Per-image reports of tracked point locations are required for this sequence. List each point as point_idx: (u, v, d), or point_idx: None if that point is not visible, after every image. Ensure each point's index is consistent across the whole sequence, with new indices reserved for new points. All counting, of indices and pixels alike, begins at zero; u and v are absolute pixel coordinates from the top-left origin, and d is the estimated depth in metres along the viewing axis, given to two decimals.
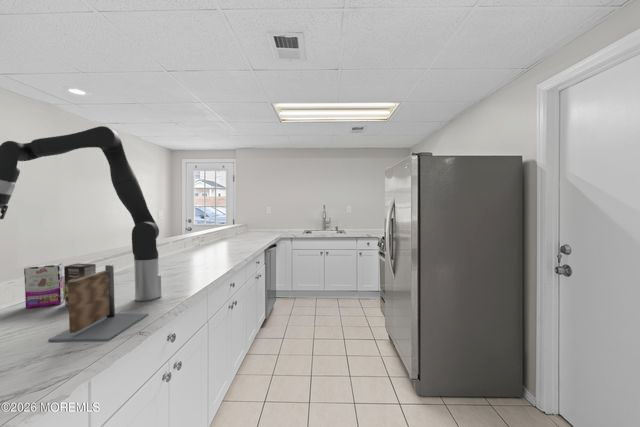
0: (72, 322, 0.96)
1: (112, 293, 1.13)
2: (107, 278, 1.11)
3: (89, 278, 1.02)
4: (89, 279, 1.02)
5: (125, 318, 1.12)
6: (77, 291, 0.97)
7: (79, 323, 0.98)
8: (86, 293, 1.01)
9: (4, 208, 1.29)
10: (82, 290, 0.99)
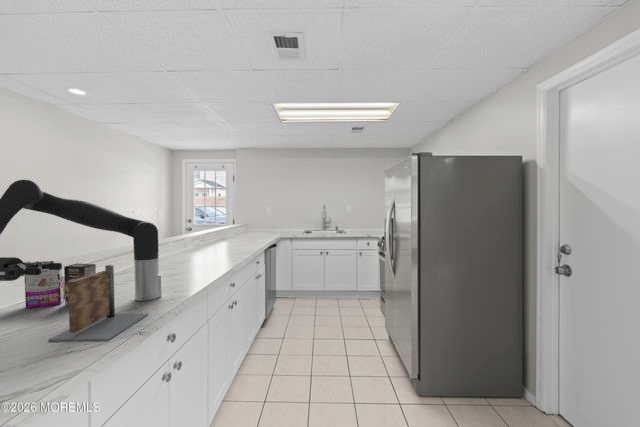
0: (72, 322, 0.96)
1: (112, 293, 1.13)
2: (107, 278, 1.11)
3: (89, 278, 1.02)
4: (89, 279, 1.02)
5: (125, 318, 1.12)
6: (77, 291, 0.97)
7: (79, 323, 0.98)
8: (86, 293, 1.01)
9: None
10: (82, 290, 0.99)
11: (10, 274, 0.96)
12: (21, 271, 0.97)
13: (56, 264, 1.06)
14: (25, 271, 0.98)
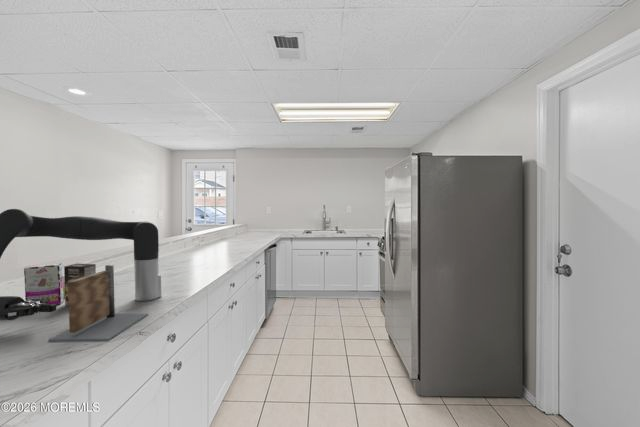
0: (72, 322, 0.96)
1: (112, 293, 1.13)
2: (107, 278, 1.11)
3: (89, 278, 1.02)
4: (89, 279, 1.02)
5: (125, 318, 1.12)
6: (77, 291, 0.97)
7: (79, 323, 0.98)
8: (86, 293, 1.01)
9: None
10: (82, 290, 0.99)
11: (23, 313, 0.99)
12: (36, 309, 1.01)
13: None
14: (39, 308, 1.01)
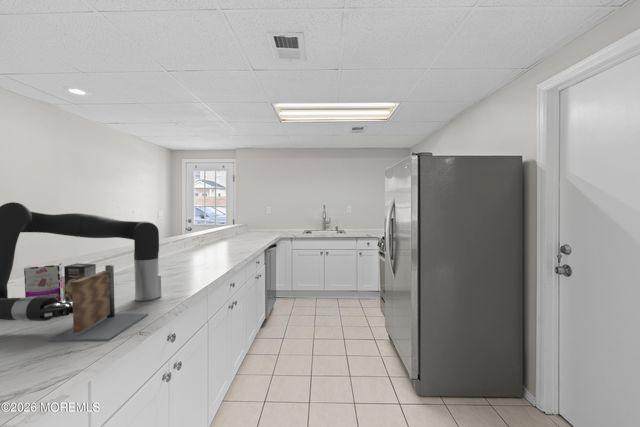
0: (77, 322, 0.96)
1: (112, 293, 1.13)
2: (108, 278, 1.11)
3: (92, 278, 1.02)
4: (92, 279, 1.02)
5: (125, 318, 1.12)
6: (81, 291, 0.97)
7: (83, 323, 0.98)
8: (89, 293, 1.01)
9: None
10: (85, 290, 0.99)
11: (59, 313, 0.99)
12: (70, 309, 1.01)
13: None
14: None
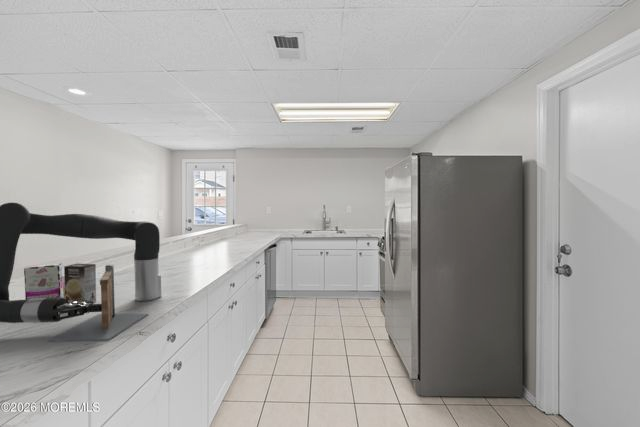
0: (106, 319, 0.98)
1: (112, 293, 1.13)
2: (111, 278, 1.12)
3: (109, 277, 1.04)
4: (109, 277, 1.04)
5: (125, 318, 1.12)
6: (107, 289, 1.00)
7: (108, 320, 1.00)
8: (109, 291, 1.03)
9: (83, 301, 1.07)
10: (108, 288, 1.01)
11: None
12: (85, 309, 1.01)
13: None
14: (89, 308, 1.02)
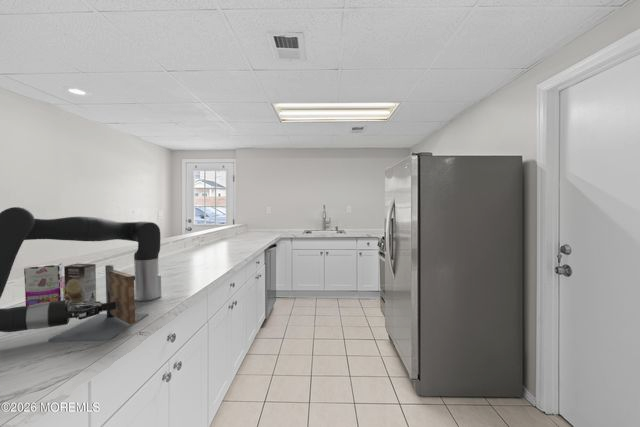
0: (133, 313, 1.03)
1: None
2: None
3: None
4: None
5: None
6: None
7: None
8: None
9: (85, 303, 1.06)
10: None
11: None
12: (100, 308, 1.02)
13: None
14: (102, 307, 1.03)
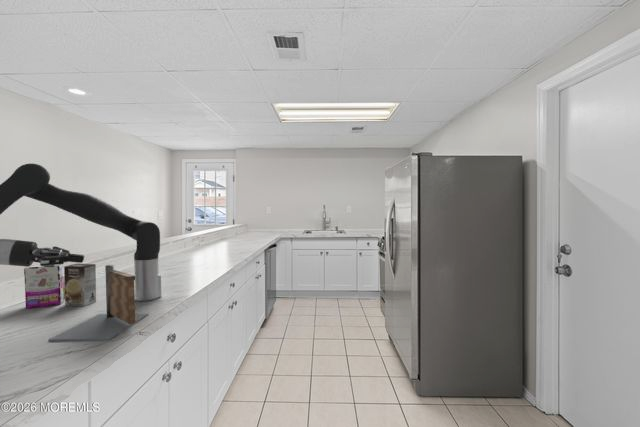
0: (133, 313, 1.03)
1: None
2: None
3: None
4: None
5: None
6: None
7: None
8: None
9: (54, 248, 1.03)
10: None
11: None
12: (66, 258, 0.99)
13: None
14: (69, 258, 1.00)
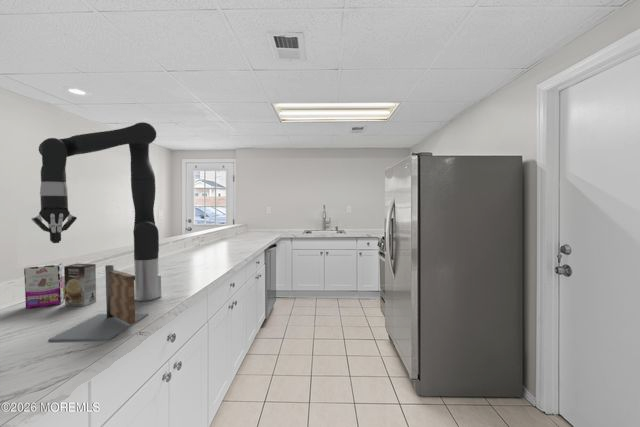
0: (133, 313, 1.03)
1: None
2: None
3: None
4: None
5: None
6: None
7: None
8: None
9: (71, 218, 1.18)
10: None
11: None
12: (48, 231, 1.13)
13: (56, 239, 1.15)
14: (50, 233, 1.14)
